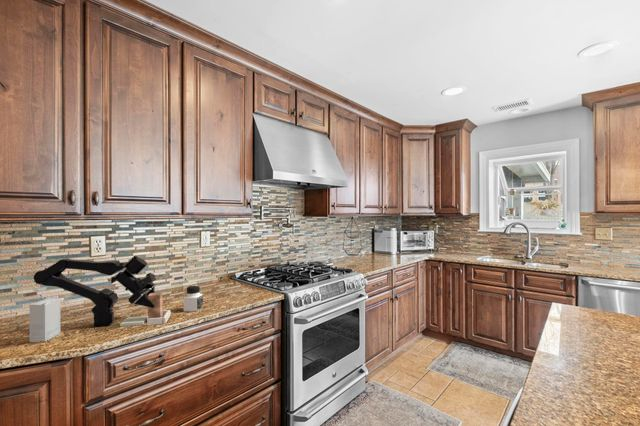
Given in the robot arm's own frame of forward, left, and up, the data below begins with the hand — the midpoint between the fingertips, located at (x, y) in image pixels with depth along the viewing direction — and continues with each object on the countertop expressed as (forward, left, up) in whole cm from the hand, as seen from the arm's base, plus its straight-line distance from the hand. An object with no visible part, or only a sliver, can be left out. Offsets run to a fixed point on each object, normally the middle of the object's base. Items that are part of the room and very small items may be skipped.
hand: (156, 304), depth 141 cm
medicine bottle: (+14, +12, -7) cm, 20 cm away
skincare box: (-38, -10, -7) cm, 40 cm away
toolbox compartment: (+1, 0, -7) cm, 7 cm away
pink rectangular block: (-1, 0, -7) cm, 7 cm away
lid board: (-9, 0, -7) cm, 12 cm away
